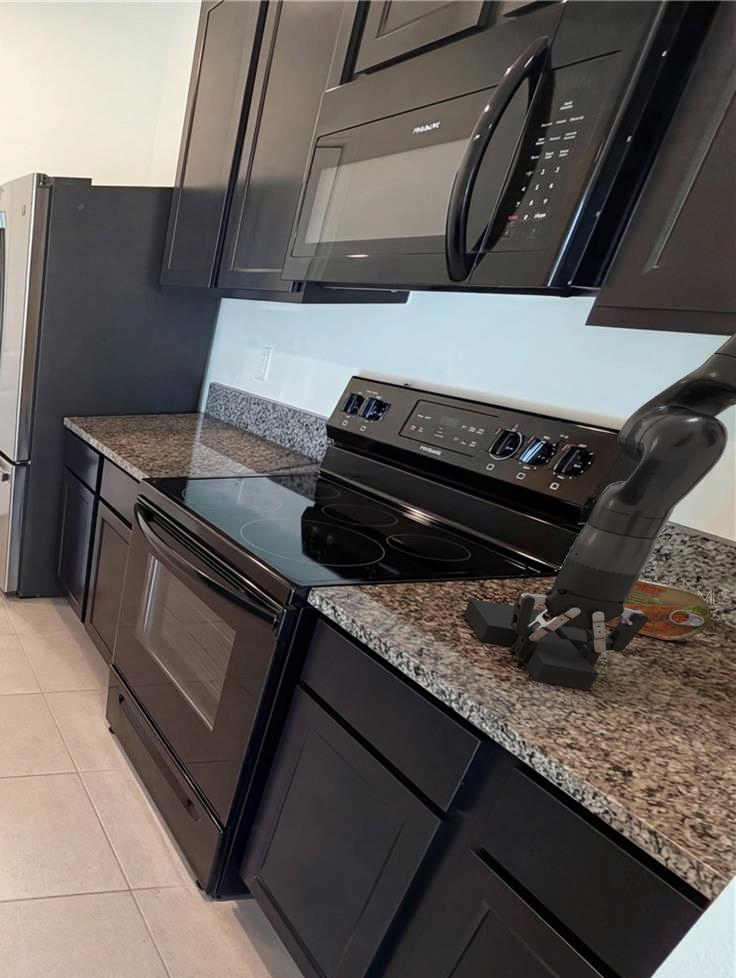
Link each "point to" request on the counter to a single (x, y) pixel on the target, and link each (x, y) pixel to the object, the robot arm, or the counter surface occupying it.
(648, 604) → the tin
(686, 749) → the counter surface
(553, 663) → the pad
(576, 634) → the notch pad
